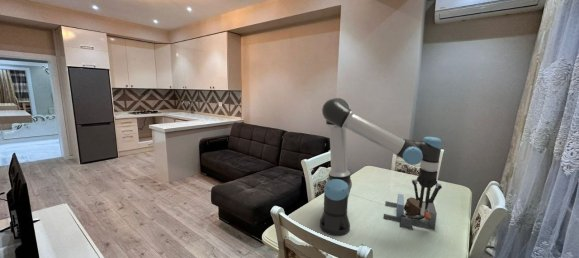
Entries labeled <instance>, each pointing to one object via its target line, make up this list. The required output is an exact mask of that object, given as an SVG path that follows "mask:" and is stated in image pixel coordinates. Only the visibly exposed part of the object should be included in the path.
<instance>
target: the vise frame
mask: <svg viewBox="0 0 579 258" xmlns="http://www.w3.org/2000/svg"><path fill="white" fill-rule="evenodd" d="M384 205H385V206H386V207H391V208H395V209H397V202H393V201H388V200H385V204H384ZM404 206H405V204H404ZM426 210H427V212H428V213H430V215H431V218H430V219H426V218H425V221H426V222H425V221H420V220H414V219H411V218H406V217H405V216H408V215H406V214H404V215H403V214H401V217H397V216H396V215H392V214H388V213H387V214H386V213H383V218H382V219H383V220H388V221H392V222H396V223H399V228H402V229H407V230H410V231H413V226H414V227H419V228H423V229H427V230H431V231H436V230H435V229H436V221H437V214H438V213H437V210H436V207H435V203H434V201H433V203H429V204H428V208H427V209H426ZM408 217H409V216H408Z"/></svg>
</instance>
